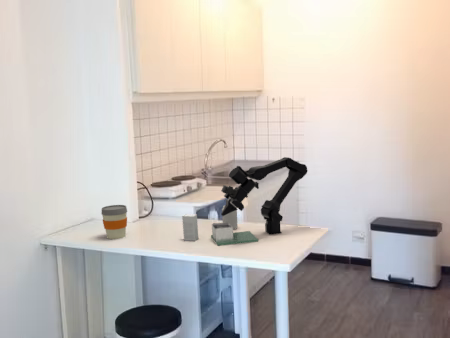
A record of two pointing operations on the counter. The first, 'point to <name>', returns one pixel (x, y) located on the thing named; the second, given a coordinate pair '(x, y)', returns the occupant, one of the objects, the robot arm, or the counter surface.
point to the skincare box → (190, 227)
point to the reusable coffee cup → (115, 221)
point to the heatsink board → (239, 238)
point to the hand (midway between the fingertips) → (221, 215)
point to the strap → (220, 224)
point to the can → (231, 218)
